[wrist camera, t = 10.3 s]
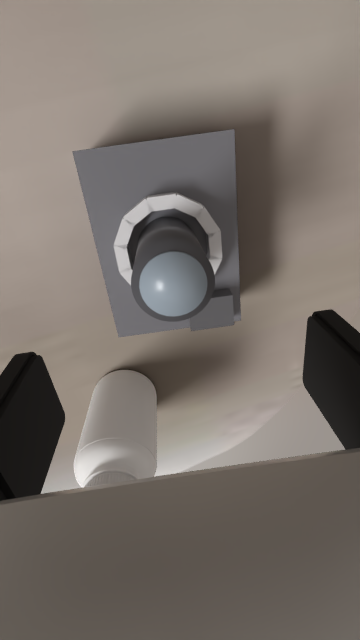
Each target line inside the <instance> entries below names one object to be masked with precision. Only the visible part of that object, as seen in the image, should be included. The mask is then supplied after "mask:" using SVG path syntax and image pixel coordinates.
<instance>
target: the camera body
mask: <svg viewBox="0 0 360 640" xmlns="http://www.w3.org/2000/svg"><path fill="white" fill-rule="evenodd" d="M72 152H73V156H74V160H75V164H76V168H77V172H78V176H79V180H80V184H81V188H82V192H83V196H84V200H85V204H86V208H87V212H88V216H89V220H90V224H91V228H92V232H93V236H94V240H95V244H96V248H97V252H98V256H99V260H100V264H101V268H102V272H103V276H104V280H105V284H106V288H107V292H108V296H109V300H110V304H111V308H112V312H113V316H114V320H115V324H116V328H117V332H118V336H119V337H124V336H131V335H139V334H146V333H153V332H160V331H167V330H175V329H182V328H189V327H190V328H191V331H195V330H202V329H209V328H216V327H223V326H231V325H234V321H239V320H241V309H240V280H239V251H238V221H237V192H236V162H235V133H234V129H231V130H224V131H217V132H210V133H202V134H195V135H188V136H181V137H173V138H166V139H159V140H151V141H144V142H137V143H130V144H122V145H115V146H108V147H100V148H93V149H86V150H79V151H72ZM161 217H174V218H177V219H180V220H182V221H184V222H185V223H186V224H187V225H188V226H189V227H190V228H191V229H192V231H193V232H194V234H195V236H196V238H197V240H198V242H199V243H200V245H201V247H202V249H203V251H204V252H205V254H206V256H207V258H208V260H209V261H210V263H211V265H212V268H213V271H214V275H215V288H214V292H213V295H212V297H211V299H210V301H209V303H208V304H207V305H206V307H205V308H204V309H203V310H202V311H201V312H199V313H198V314H197V315H195V316H193V317H191V318H189V319H186V320H183V321H177V322H168V321H162V320H158V319H156V318H153V317H152V316H150V315H148V314H147V313H146V312H144V311H143V310H142V309H141V308H140V306H139V305H138V304H137V302H136V301H135V299H134V296H133V293H132V289H131V276H132V271H133V266H134V261H135V256H136V251H137V246H138V241H139V237H140V234H141V232H142V231H143V229H144V228H145V227H146V225H148V224H149V223H150V222H151V221H153V220H155V219H157V218H161Z"/></svg>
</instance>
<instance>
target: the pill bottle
mask: <svg viewBox="0 0 360 640" xmlns="http://www.w3.org/2000/svg"><path fill="white" fill-rule="evenodd" d="M156 467H157V395H156V390H155V387H154V385H153V383H152V382H151V381H150V380H149V379H148V378H147V377H146V376H144V375H143V374H141V373H139V372H136V371H132V370H118V371H114V372H111V373H109V374H107V375H105V376H104V377H103V378H101V379H100V381H99V382H98V383H97V385H96V387H95V389H94V392H93V395H92V399H91V402H90V406H89V409H88V413H87V417H86V420H85V424H84V427H83V431H82V435H81V438H80V442H79V445H78V449H77V452H76V456H75V460H74V473H75V477H76V480H77V482H78V483H79V485H80V486H81V487H82V488H83V487H90V486H97V485H103V484H110V483H116V482H123V481H129V480H136V479H143V478H150V477H154V475H155V472H156Z"/></svg>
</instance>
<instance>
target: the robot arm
mask: <svg viewBox="0 0 360 640" xmlns="http://www.w3.org/2000/svg"><path fill="white" fill-rule="evenodd" d="M303 383H304V386H305V388H306V389H307V391H308V393H309V394H310V396H311V397H312V399H313V400H314V402H315V403H316V405H317V406H318V408H319V409H320V411H321V412H322V414H323V416H324V417H325V419H326V420H327V421H328V423H329V425H330V426H331V428H332V429H333V431H334V432H335V434H336V435H337V437H338V438H339V440H340V441H341V443H342V444H343V446H344V448H345V449H346V450H340V451H331V452H324V453H317V454H310V455H302V456H295V457H288V458H281V459H274V460H267V461H260V462H253V463H245V464H238V465H232V466H225V467H218V468H211V469H204V470H197V471H190V472H184V473H177V474H170V475H163V476H156V477H150V478H143V479H136V480H129V481H123V482H116V483H110V484H103V485H97V486H90V487H83V488H77V489H70V490H64V491H57V492H51V493H44V494H41V491H42V488H43V485H44V482H45V479H46V476H47V473H48V470H49V467H50V464H51V461H52V458H53V455H54V452H55V449H56V446H57V443H58V440H59V437H60V434H61V431H62V428H63V425H64V422H65V413H64V410H63V408H62V405H61V403H60V400H59V398H58V395H57V393H56V390H55V388H54V385H53V383H52V380H51V378H50V376H49V373H48V371H47V368H46V366H45V363H44V361H43V358H42V357H41V356H40V355H36V353H34V352H28V353H21V354H16V355H15V356H14V357H13V358H12V359H11V361H10V362H9V364H8V365H7V367H6V368H5V369H4V371H3V372H2V374H1V375H0V640H360V333H359V332H358V331H357V330H356V329H354V328H353V327H352V326H351V325H350V324H349V323H348V322H346V321H345V320H344V319H343V318H342V317H341V316H339V315H338V314H337V313H336V312H335V311H333V310H332V309H331V310H323V311H316V312H314V313H313V315H312V316H310V317H309V318H308V321H307V332H306V344H305V356H304V368H303Z"/></svg>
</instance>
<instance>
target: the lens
mask: <svg viewBox="0 0 360 640" xmlns="http://www.w3.org/2000/svg"><path fill="white" fill-rule="evenodd" d="M214 288H215V275H214V271H213V268H212V265H211V263H210V261H209V260H208V258H207V256H206V254H205V252H204V251H203V249H202V247H201V245H200V243H199V242H198V240H197V238H196V236H195V234H194V232H193V231H192V229H191V228H190V227H189V226H188V225H187V224H186V223H185V222H184V221H182V220H180V219H177V218H174V217H161V218H157V219H155V220H153V221H151V222H150V223H149V224H148V225H146V227H145V228H144V229H143V231H142V232H141V234H140V237H139V241H138V246H137V251H136V256H135V261H134V266H133V271H132V276H131V289H132V293H133V296H134V299H135V301H136V302H137V304H138V305H139V306H140V308H141V309H142V310H143V311H144V312H146V313H147V314H148V315H150V316H152V317H153V318H156V319H158V320H162V321H168V322H177V321H183V320H186V319H189V318H191V317H193V316H195V315H197V314H198V313H199V312H201V311H202V310H203V309H204V308H205V307H206V305H207V304H208V303H209V301H210V299H211V297H212V295H213V292H214Z"/></svg>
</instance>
